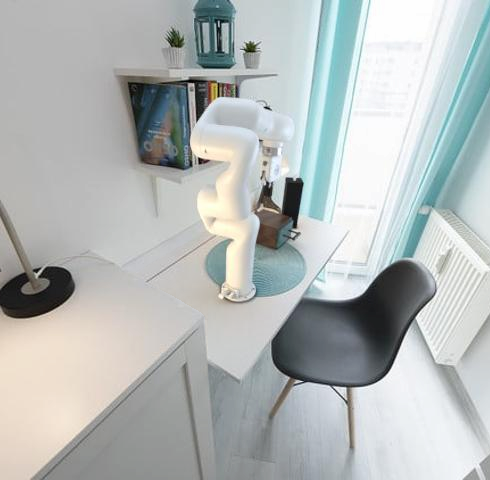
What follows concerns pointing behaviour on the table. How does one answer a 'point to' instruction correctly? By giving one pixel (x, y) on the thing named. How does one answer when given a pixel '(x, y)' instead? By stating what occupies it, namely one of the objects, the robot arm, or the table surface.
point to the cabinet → (270, 227)
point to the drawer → (286, 233)
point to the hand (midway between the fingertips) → (267, 195)
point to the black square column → (292, 198)
